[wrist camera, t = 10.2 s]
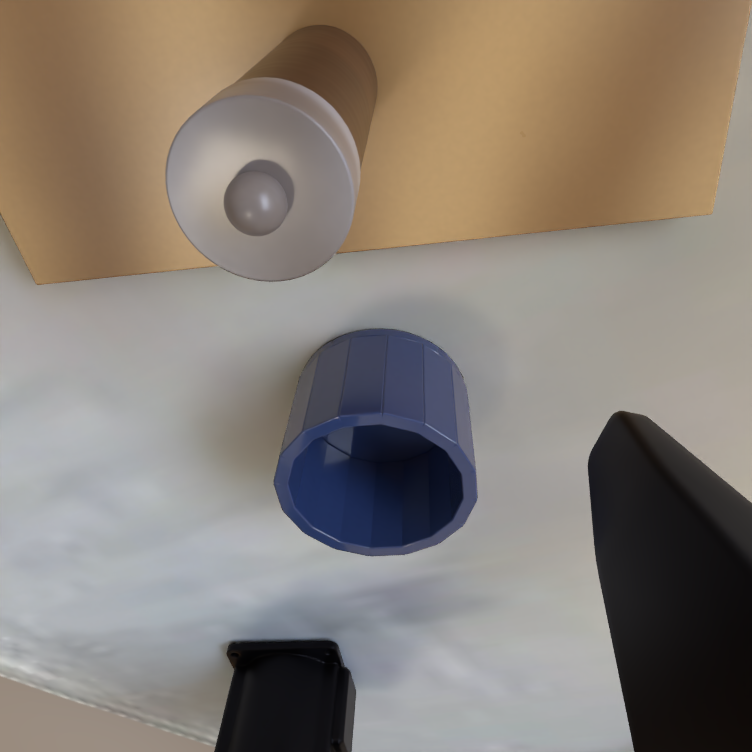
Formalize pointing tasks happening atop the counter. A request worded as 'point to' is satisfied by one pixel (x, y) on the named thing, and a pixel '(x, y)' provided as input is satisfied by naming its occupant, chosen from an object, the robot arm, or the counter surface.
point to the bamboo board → (389, 122)
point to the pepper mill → (277, 158)
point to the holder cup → (378, 446)
